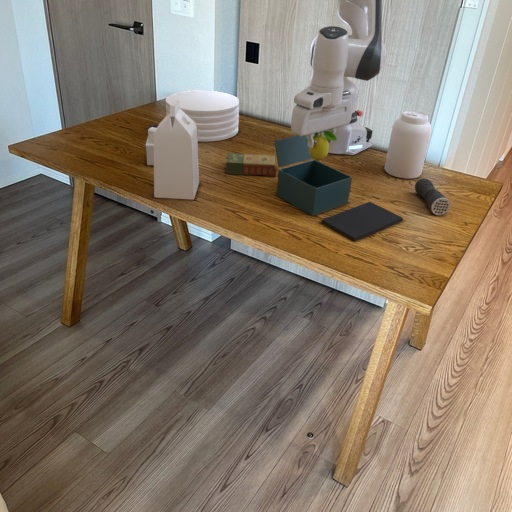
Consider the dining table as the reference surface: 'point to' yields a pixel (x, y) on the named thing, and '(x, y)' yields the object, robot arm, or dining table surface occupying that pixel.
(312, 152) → the lemon
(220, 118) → the plate stack
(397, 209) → the dining table surface
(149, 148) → the medicine bottle
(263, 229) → the dining table surface
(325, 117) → the robot arm
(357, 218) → the mat
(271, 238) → the dining table surface
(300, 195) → the box
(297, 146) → the flap
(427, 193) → the flashlight
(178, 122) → the milk
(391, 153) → the white lidded jar
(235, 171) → the carton
